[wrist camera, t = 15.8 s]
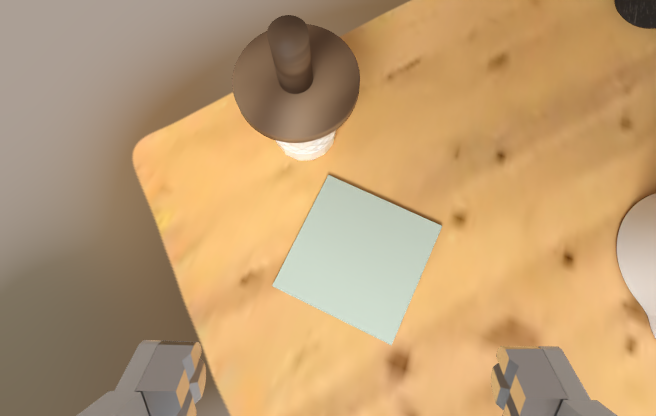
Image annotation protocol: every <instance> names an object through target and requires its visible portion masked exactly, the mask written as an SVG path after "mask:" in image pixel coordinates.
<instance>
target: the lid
mask: <svg viewBox="0 0 656 416" xmlns="http://www.w3.org/2000/svg"><path fill="white" fill-rule="evenodd" d="M232 79H233V81H232V86H233V93H234V97H235V100H236V102H237V104H238V107H239V109H240V111H241V113H242V115H243V116H244V118H245V119H246V121H247V122H248V123H249V124H250V125H251V126H252V127H253V128H254V129H255V130H257V131H258V132H259V133H261V134H263V135H264V136H266V137H269V138H271V139H274V140H277V141H281V142H286V143H305V142H310V141H314V140H317V139H320V138H322V137H325V136H327V135H329V134H330V133H332V132H334V131H335V130H336V129H338V128H339V127H340V126H341V125H342V124H343V123H344V122H345V121H346V120H347V119H348V117H349V116H350V114H351V113H352V111H353V109H354V107H355V105H356V102H357V99H358V94H359V83H360V74H359V67H358V63H357V61H356V58H355V56H354V54H353V52H352V51H351V49H350V48H349V47H348V45H347V44H346V43H345V42H344V41H343V40H342V39H341V38H339V37H338V36H336V35H335V34H334V33H332V32H330V31H328V30H326V29H323V28H321V27H318V26H314V25H308V24H305V22H304V21H303V20H302V19H300V18H298V17H296V16H291V15H286V16H281V17H279V18H277V19H276V20H274V21H273V22H272V23H271V24H270V26H269V28H268V31H266V32H264V33H262V34H261V35H259V36H258V37H257V38H255V39H254V40H253V41H251V42H250V43H249V44H248V45H247V47H246V48H245V49H244V50H243V52H242V53H241V55H240V56H239V58H238V60H237V62H236V65H235V68H234V72H233V78H232Z"/></svg>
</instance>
